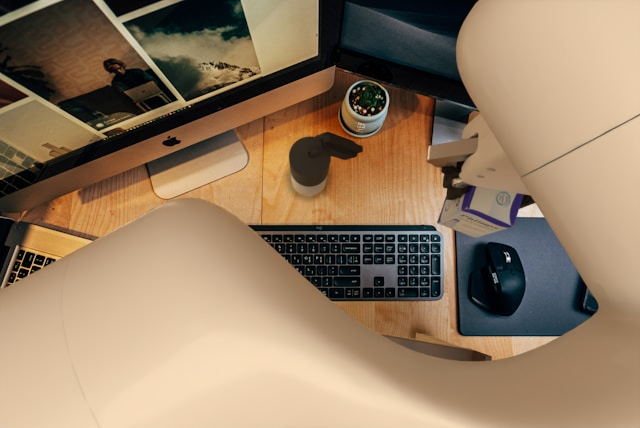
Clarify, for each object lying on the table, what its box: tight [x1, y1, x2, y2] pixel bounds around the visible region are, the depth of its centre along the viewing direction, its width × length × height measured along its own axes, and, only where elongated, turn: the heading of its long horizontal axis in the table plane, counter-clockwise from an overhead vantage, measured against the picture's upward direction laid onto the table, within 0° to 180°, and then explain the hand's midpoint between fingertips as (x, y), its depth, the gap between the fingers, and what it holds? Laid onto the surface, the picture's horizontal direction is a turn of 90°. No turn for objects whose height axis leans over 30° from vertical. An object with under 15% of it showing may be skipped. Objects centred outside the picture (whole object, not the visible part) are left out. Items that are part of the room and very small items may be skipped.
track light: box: [288, 131, 364, 197], centre depth 72 cm, size 6×17×20 cm
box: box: [436, 185, 524, 239], centre depth 42 cm, size 8×4×9 cm, turn 158°
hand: (481, 189), depth 42 cm, fingers closed on box, 5 cm apart
